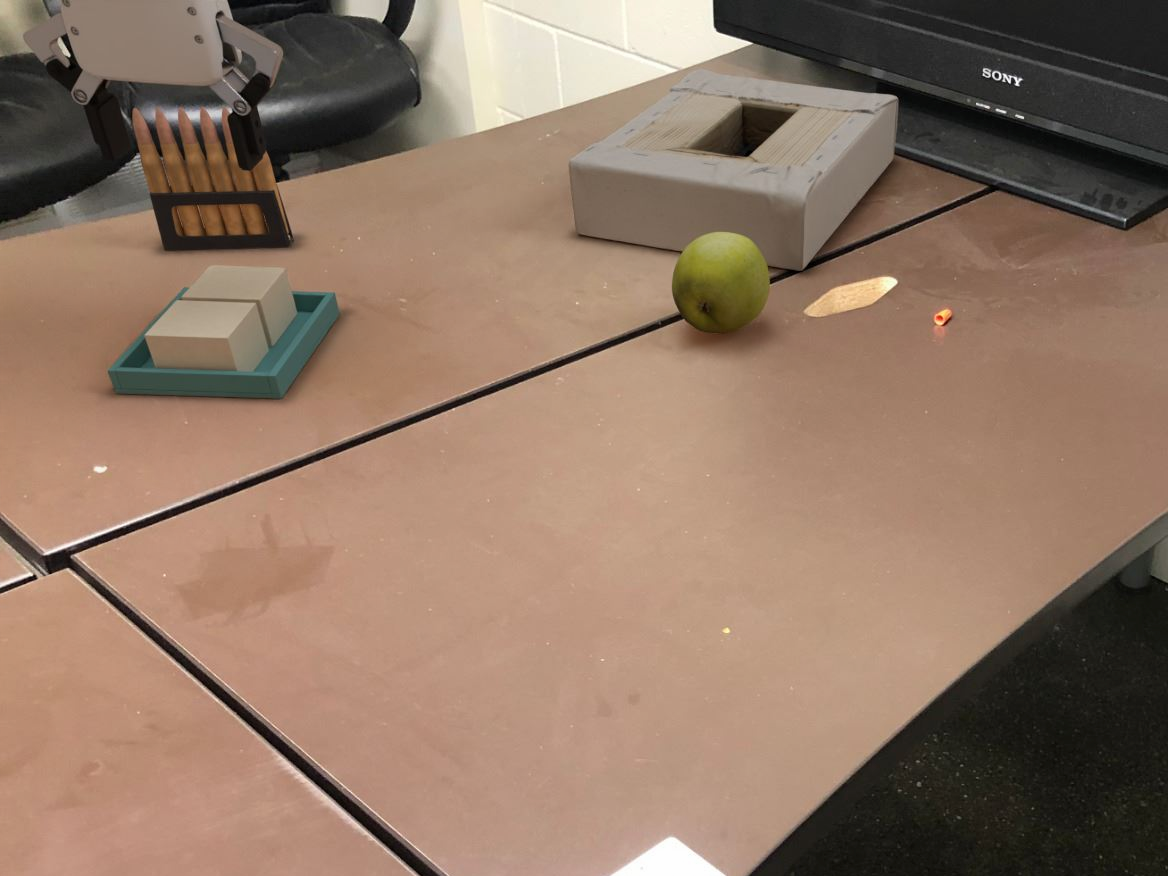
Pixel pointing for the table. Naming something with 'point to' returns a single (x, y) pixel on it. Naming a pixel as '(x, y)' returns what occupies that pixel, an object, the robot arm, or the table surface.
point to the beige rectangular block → (250, 293)
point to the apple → (720, 282)
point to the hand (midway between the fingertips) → (185, 159)
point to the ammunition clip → (209, 189)
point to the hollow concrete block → (736, 166)
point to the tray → (265, 381)
